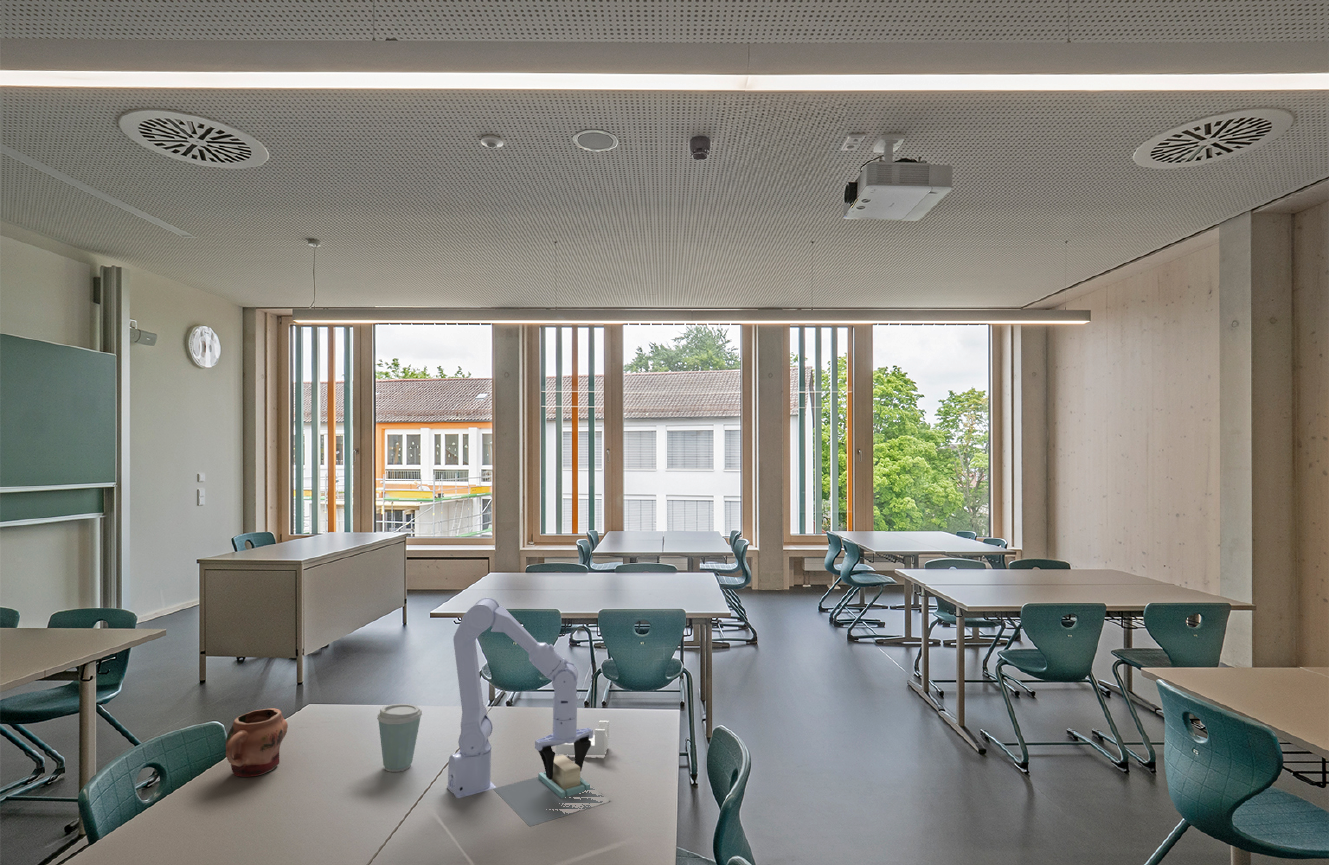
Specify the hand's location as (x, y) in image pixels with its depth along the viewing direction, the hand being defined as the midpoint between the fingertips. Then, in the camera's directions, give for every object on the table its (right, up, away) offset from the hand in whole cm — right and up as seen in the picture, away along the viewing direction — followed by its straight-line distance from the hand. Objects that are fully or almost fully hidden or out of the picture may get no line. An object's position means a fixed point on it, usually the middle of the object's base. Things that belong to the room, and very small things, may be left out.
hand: (563, 773), depth 167 cm
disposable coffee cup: (-43, -3, +10) cm, 45 cm away
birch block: (0, -2, 0) cm, 2 cm away
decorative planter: (-78, -3, +6) cm, 78 cm away
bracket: (+2, -5, +20) cm, 21 cm away
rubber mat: (-2, -3, -6) cm, 7 cm away
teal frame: (0, -3, 0) cm, 3 cm away
